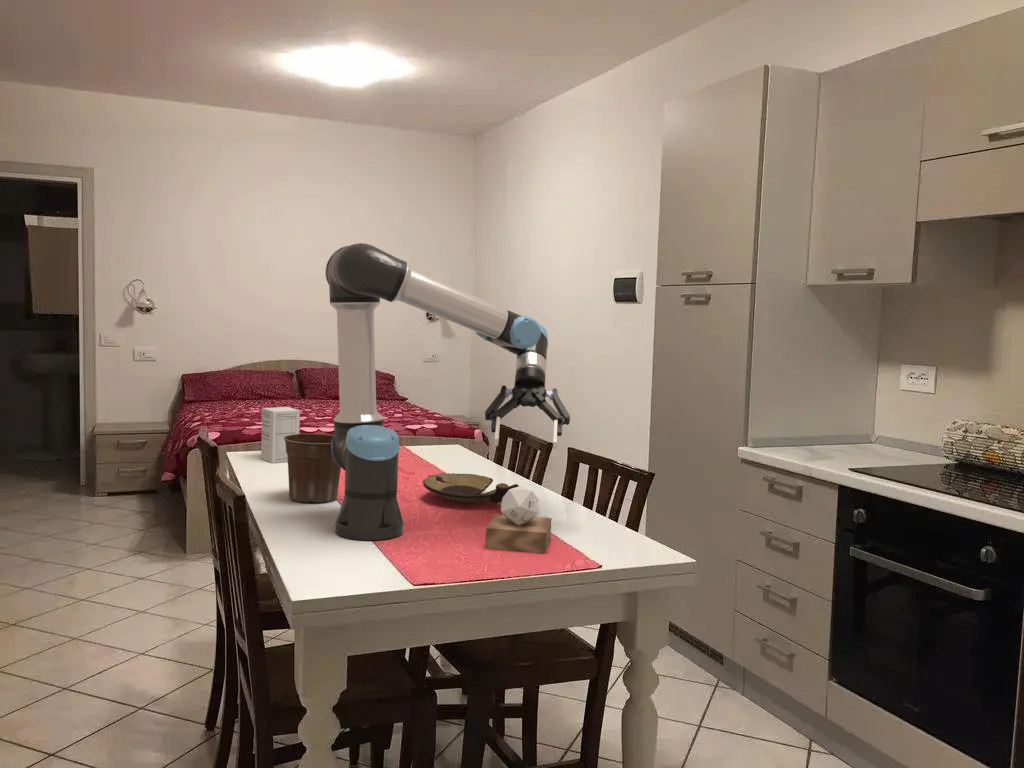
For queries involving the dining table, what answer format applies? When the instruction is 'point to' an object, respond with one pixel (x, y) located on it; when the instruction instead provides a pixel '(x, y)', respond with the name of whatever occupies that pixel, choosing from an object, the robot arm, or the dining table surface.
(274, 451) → the supplement box
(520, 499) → the die
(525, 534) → the walnut block
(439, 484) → the oil lamp
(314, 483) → the plant pot
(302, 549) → the dining table surface
